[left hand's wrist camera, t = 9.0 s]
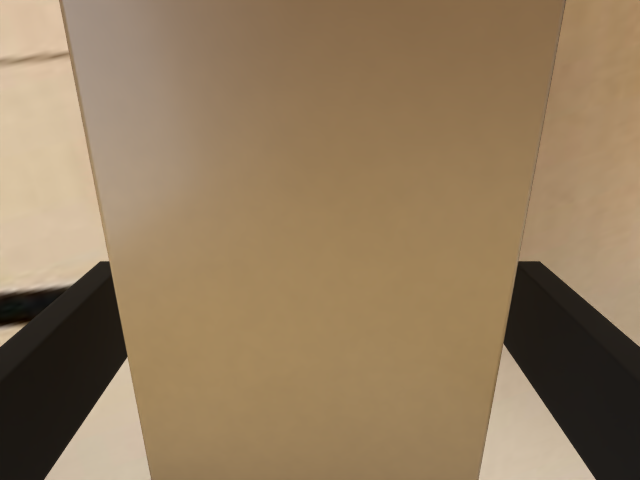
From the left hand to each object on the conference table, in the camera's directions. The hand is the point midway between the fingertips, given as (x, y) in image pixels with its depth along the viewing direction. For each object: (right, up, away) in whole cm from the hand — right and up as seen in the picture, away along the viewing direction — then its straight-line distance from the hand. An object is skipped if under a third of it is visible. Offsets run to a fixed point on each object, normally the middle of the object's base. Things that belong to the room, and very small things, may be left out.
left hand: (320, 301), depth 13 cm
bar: (0, +8, -1) cm, 8 cm away
